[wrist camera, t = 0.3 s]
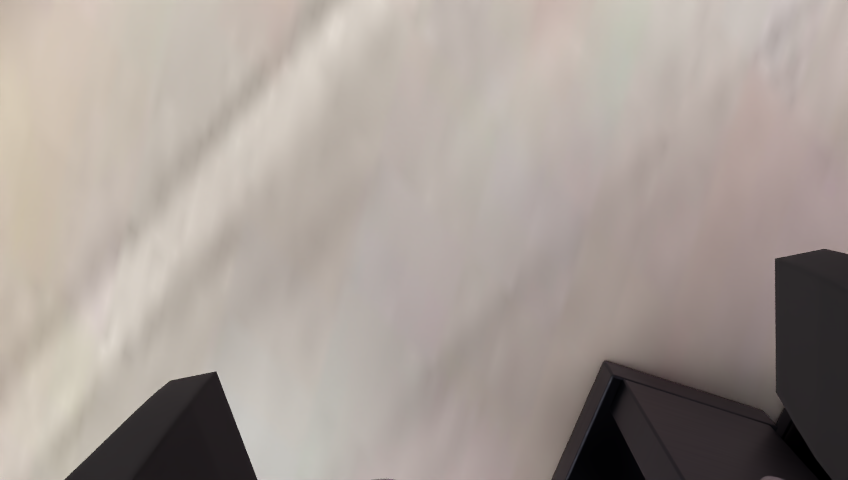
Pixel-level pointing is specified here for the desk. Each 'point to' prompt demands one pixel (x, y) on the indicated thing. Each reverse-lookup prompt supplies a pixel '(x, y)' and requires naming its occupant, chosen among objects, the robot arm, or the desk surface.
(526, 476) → the desk surface
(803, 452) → the toaster
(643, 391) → the lever bracket
